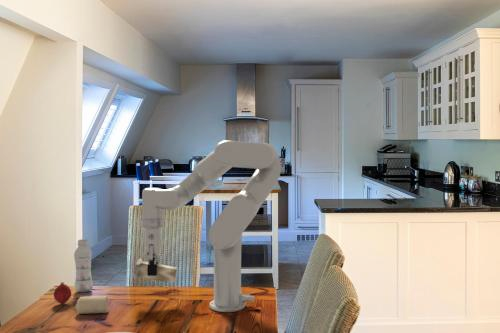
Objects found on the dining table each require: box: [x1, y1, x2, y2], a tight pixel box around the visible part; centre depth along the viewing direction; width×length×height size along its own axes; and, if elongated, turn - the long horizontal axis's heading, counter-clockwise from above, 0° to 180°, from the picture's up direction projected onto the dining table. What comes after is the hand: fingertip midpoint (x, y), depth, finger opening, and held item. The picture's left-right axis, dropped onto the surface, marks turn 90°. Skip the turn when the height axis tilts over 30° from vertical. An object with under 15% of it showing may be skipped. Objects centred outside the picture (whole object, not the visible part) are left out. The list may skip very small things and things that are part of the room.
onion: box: [53, 281, 72, 305], centre depth 172 cm, size 6×6×8 cm
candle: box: [74, 295, 109, 315], centre depth 163 cm, size 6×6×10 cm
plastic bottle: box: [73, 238, 94, 293], centre depth 186 cm, size 6×7×20 cm
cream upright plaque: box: [132, 258, 178, 284], centre depth 173 cm, size 14×8×5 cm, turn 96°
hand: (152, 273), depth 173 cm, fingers closed on cream upright plaque, 3 cm apart
